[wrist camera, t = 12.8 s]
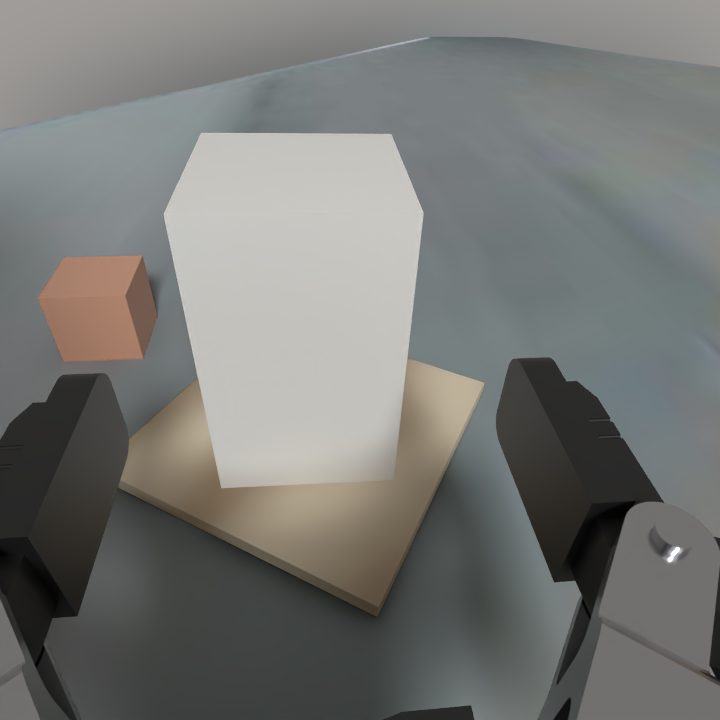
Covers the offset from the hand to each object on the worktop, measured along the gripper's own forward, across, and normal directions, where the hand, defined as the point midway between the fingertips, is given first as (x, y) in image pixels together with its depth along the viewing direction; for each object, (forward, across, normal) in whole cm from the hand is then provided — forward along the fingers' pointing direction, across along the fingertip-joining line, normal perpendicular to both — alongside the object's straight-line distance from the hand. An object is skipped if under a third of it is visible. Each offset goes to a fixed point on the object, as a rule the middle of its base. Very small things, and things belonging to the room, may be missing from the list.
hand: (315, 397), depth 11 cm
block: (+14, +10, +8) cm, 19 cm away
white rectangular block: (+7, 0, +8) cm, 10 cm away
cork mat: (+7, 0, +8) cm, 11 cm away
